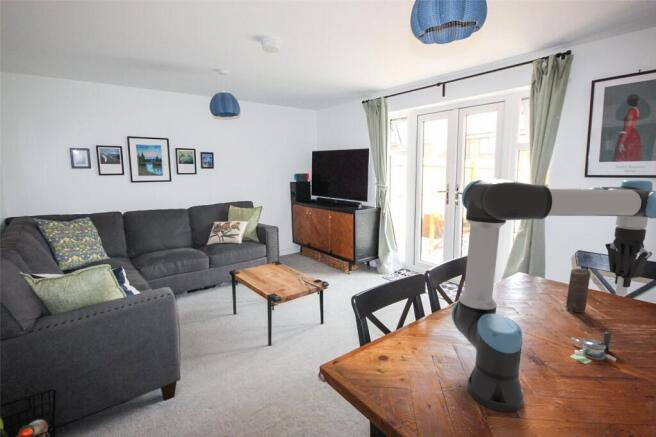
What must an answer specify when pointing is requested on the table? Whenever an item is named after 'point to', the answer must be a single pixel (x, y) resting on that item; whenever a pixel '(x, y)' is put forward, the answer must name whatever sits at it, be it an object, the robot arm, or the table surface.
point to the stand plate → (583, 359)
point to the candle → (578, 290)
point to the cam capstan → (595, 347)
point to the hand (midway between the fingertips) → (620, 294)
